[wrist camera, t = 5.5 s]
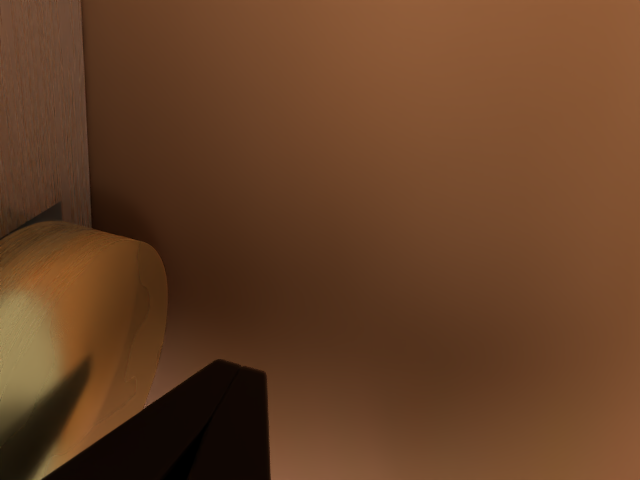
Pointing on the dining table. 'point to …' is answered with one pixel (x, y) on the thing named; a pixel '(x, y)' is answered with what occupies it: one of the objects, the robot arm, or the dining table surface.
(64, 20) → the block
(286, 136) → the dining table surface
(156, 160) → the dining table surface
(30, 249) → the lynch pin
